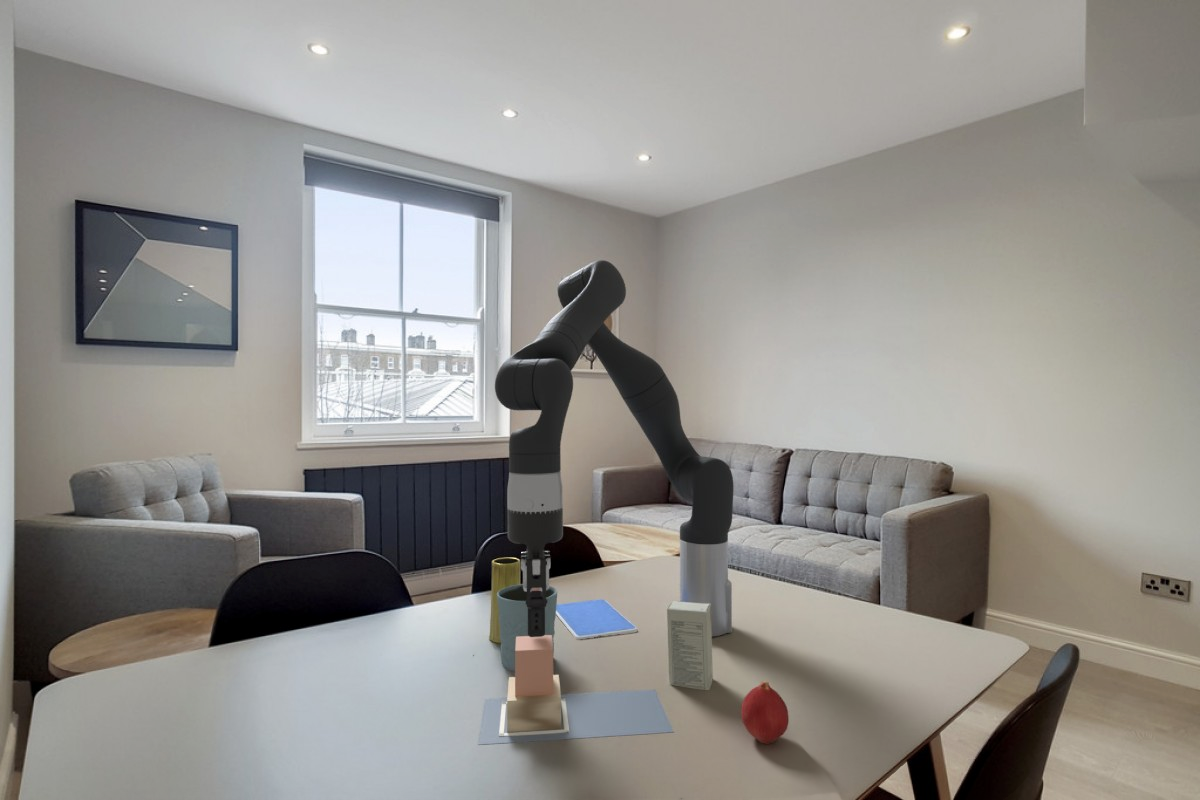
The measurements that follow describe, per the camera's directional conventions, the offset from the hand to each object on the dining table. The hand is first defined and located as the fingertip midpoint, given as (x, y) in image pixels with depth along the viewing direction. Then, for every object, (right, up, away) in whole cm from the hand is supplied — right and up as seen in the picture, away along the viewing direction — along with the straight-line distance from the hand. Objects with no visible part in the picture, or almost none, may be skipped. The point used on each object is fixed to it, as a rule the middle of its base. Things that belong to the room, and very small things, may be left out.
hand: (535, 624), depth 82 cm
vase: (-9, -14, +30) cm, 34 cm away
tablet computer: (+7, -15, +40) cm, 43 cm away
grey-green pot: (-4, -14, +19) cm, 23 cm away
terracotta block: (0, -9, 0) cm, 9 cm away
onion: (+30, -13, -6) cm, 33 cm away
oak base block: (0, -13, 0) cm, 13 cm away
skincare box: (+23, -14, +11) cm, 28 cm away
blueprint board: (+5, -13, +1) cm, 14 cm away
